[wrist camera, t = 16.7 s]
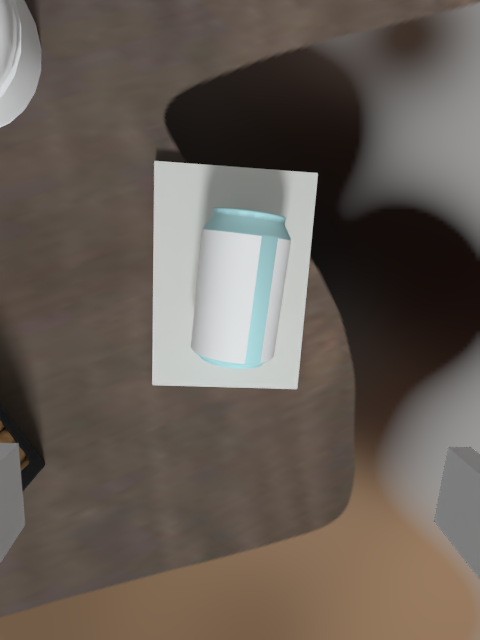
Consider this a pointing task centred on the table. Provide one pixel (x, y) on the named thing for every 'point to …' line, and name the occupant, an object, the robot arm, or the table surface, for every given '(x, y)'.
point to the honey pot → (17, 59)
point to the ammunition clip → (20, 448)
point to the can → (240, 287)
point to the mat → (183, 262)
